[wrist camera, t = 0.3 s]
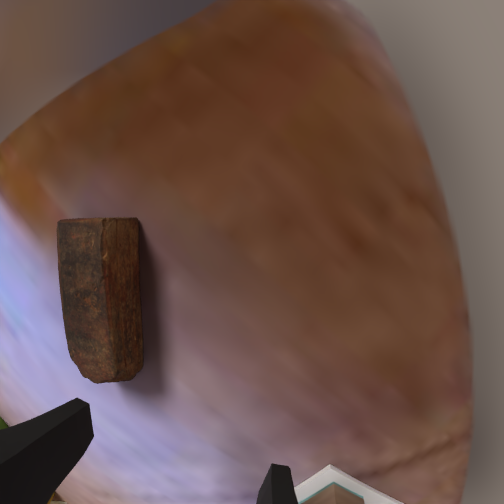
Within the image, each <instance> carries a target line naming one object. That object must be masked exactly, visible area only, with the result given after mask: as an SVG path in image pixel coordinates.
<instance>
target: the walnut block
mask: <svg viewBox="0 0 504 504" xmlns="http://www.w3.org/2000/svg"><path fill="white" fill-rule="evenodd" d="M298 504H365V503H364V498H363V496H361V495H359V494H357V493H355V492H353V491H351V490H349V489H347V488H345V487H343V486H341V485H339V484H338V483H336V482H334V481H333V482H332V483H330V484H329V485H327V486H325V487H324V488H322V489H321V490H319V491H317V492H316V493H314V494H312V495H311V496H309V497H307V498H306V499H304V500H302V501H300V502H299V503H298Z"/></svg>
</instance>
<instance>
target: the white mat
mask: <svg viewBox="0 0 504 504" xmlns="http://www.w3.org/2000/svg"><path fill="white" fill-rule="evenodd" d="M333 481H334V482H336V483H338V484H339V485H341V486H343V487H345V488H347V489H349V490H351V491H353V492H355V493H357V494H359V495H361V496H363V498H364V503H365V504H404V503H402V502H400V501H398V500H396V499H394V498H392V497H390V496H388V495H386V494H384V493H382V492H380V491H378V490H376V489H374V488H372V487H370V486H368V485H366V484H364V483H362V482H361V481H359V480H357V479H355V478H353V477H352V476H350V475H348V474H346V473H344V472H343V471H341V470H339V469H338V468H336V467H334V466H332V465H331V464H329V465H328V466H327V467H325V468H324V469H322V470H321V471H319V472H318V473H316V474H315V475H313V476H312V477H310V478H309V479H307V480H305V481H304V482H302V483H301V484H299V485H297V486H296V487H294V490H295V494H296V497H297V501H298V503H299V502H300V501H302V500H304V499H306V498H307V497H309V496H311V495H312V494H314V493H316V492H317V491H319V490H321V489H322V488H324V487H325V486H327V485H329V484H330V483H332V482H333Z"/></svg>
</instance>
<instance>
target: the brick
mask: <svg viewBox="0 0 504 504" xmlns="http://www.w3.org/2000/svg"><path fill="white" fill-rule="evenodd" d="M57 223H58V226H57V249H58V270H59V284H60V294H61V303H62V311H63V319H64V326H65V333H66V339H67V344H68V350H69V353H70V357H71V359H72V361H74V363H75V364H76V365H77V367H78V369H79V371H80V373H81V374H82V376H83V377H85V378H88V379H90V381H92V382H93V383H97V384H98V383H105V382H119V381H130V380H132V379H133V378H134V377H135V375H136V373H137V372H139V371H140V370H141V369H142V368H143V333H142V316H141V298H140V284H139V225H138V218H127V217H115V218H77V219H64V220H60V221H59V222H57Z"/></svg>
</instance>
